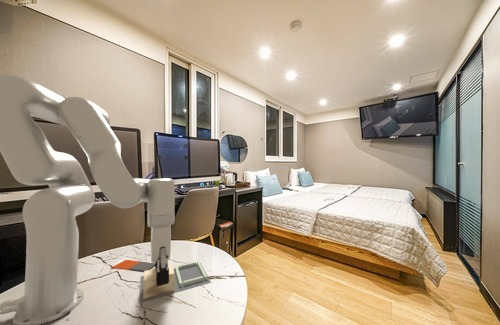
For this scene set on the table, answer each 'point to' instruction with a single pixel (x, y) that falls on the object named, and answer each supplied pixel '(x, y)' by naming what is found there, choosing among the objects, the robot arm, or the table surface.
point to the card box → (150, 283)
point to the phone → (134, 266)
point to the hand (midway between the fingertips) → (161, 275)
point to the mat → (182, 279)
